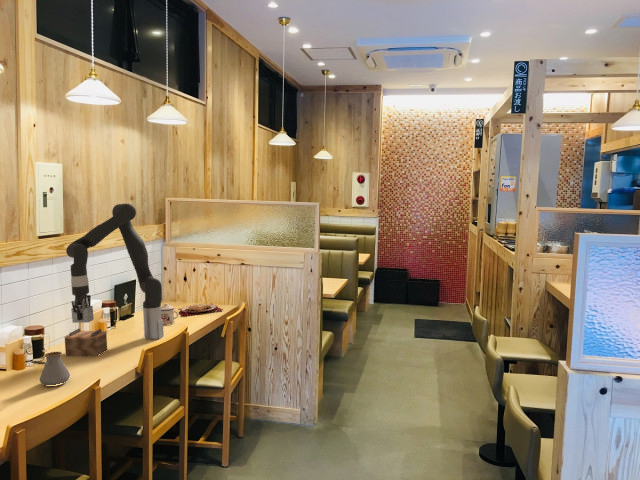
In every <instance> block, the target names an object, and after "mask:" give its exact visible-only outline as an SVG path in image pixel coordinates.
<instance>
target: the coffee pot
mask: <svg viewBox="0 0 640 480" xmlns="http://www.w3.org/2000/svg"><path fill="white" fill-rule="evenodd" d="M62 354H63V353H62V351H51V352H47V353H45V354H44V357H45V358H46V361H43V360H42V361H41V360H32V361H30V363H31V364H33V365H30V367H34V365H44V366H43V369H42V372H41V374H40V377H39V382H40V383H41V384H42V385H43V384H44V385H43V386H45V385H56V384H60V383H64V382H65V383H66V382H67V381H68V380H69V378H70V377H71V373H70V371H69V369H67V366H66V365H65V363H64V361H63V360H62V358H61V356H62ZM65 383H64V384H65Z"/></svg>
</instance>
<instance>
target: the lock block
mask: <svg viewBox="0 0 640 480" xmlns="http://www.w3.org/2000/svg"><path fill="white" fill-rule="evenodd" d="M75 309H76V308H75ZM79 309H80V308H79ZM70 310H71V320H72V323H75V324H77V323H80V324H81V323H83V324H85V323H90V322H92V321H94V317H95V316H94V307H93V305H90V306H83V308H82V320H77V313H74V311H73V307H71V308H70Z"/></svg>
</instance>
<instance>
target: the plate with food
mask: <svg viewBox="0 0 640 480" xmlns="http://www.w3.org/2000/svg"><path fill="white" fill-rule="evenodd" d="M177 309H178V310H177V311H178V314H180V315H181V316H194V315H199V314H200V315H201V314H205V312H207V313H208V314H213V313H218V312H222V311H224V309H223V308H220V307H219V306H218V305H217V304H216V305H215V304H213V303H208V304H205V303H203V304H202V303H200V304H191V305H186V306H184V307H182V308H177ZM203 312H204V313H203Z"/></svg>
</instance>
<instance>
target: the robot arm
mask: <svg viewBox="0 0 640 480" xmlns="http://www.w3.org/2000/svg"><path fill="white" fill-rule="evenodd" d="M111 214H112V216H111V217H110V218H108V219H107V220H105V221H104V222H101V223H100V224H98V225H96V226H94V228H91V230H89V231H88V232H87V233H85V235H83V236H81V237H80V238H78V239H75V240H74V241H72V242H71V243H70V244H68V246H67V247H66V250H65V252H66V255H67V256H68V257H70V258H72V259H73V263H72V264H71V265H70V283H71V285H70V286H71V293H72V295H73V296H75V297H74V300H72V301H71V308H73V311H74V313H77V320H82V308H83V306H92V303H91V299H92V295H91V294H89V293H90V287H89V278H88V270H87V265H88V259H89V258H88V257H89V252H88V249H89V248H94V247H95V246H97V245H98V244H99V243H100V242H102V241H103V240H104V239H105V238H106V237H108V236H109V235H110V234H111V233H113V232H115V231H116V230H117V229H118V230H119V232H120V234H121V237H122V239H123V242H124V245H125V248H126V250H127V254H128V256H129V259H130V260H131V263H132V266H133V268H134V270H135V273H136V277H137V280H138V284H139V288H140V290H141V292H142V293H144V301H143V303H142V311H143V331H144V334H143V335H144V339H145V340H150V341H151V340H160V339H162V338H163V337H164V335H165V334H164V324H163V319H161V307H162V301H163V290H162V289H163V288H162V283H161V281H160V280H159V279H158V278H155V277H154V276H153V274H152V272H151V270H150V265H149V254H148V250H147V247H146V244H145V242H144V241H143V239H142V237H141V236H140V235H139V234H138V232H137V231H136V230H135V228H134V226H133V223H132V220H133V219H135V217H136V215H137V209H136V207H135V206H134V204H131V203H118V204H116V205H114V206H113V207H112V211H111ZM75 308H76V309H75ZM79 308H80V309H79Z"/></svg>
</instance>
